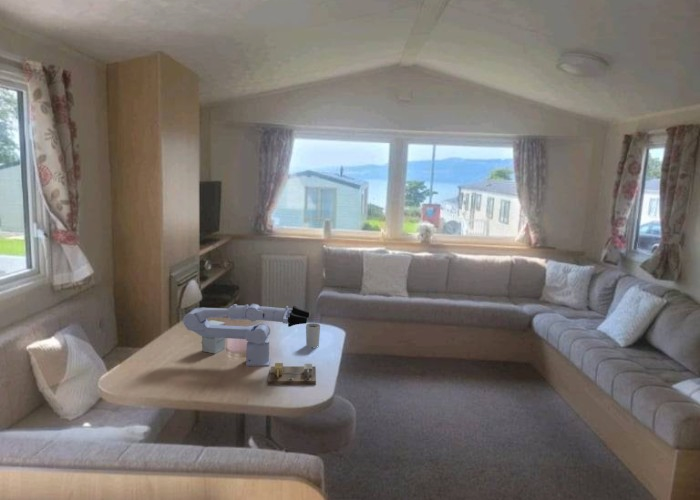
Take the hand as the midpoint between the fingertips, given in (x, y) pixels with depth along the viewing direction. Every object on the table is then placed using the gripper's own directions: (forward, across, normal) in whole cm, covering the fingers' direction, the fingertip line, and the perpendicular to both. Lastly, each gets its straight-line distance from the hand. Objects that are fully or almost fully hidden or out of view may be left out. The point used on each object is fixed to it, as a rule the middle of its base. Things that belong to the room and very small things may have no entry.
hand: (307, 317), depth 199 cm
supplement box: (-42, +11, +23) cm, 49 cm away
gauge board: (-3, -14, +20) cm, 25 cm away
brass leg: (-8, -16, +19) cm, 26 cm away
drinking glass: (+1, +22, +21) cm, 30 cm away
